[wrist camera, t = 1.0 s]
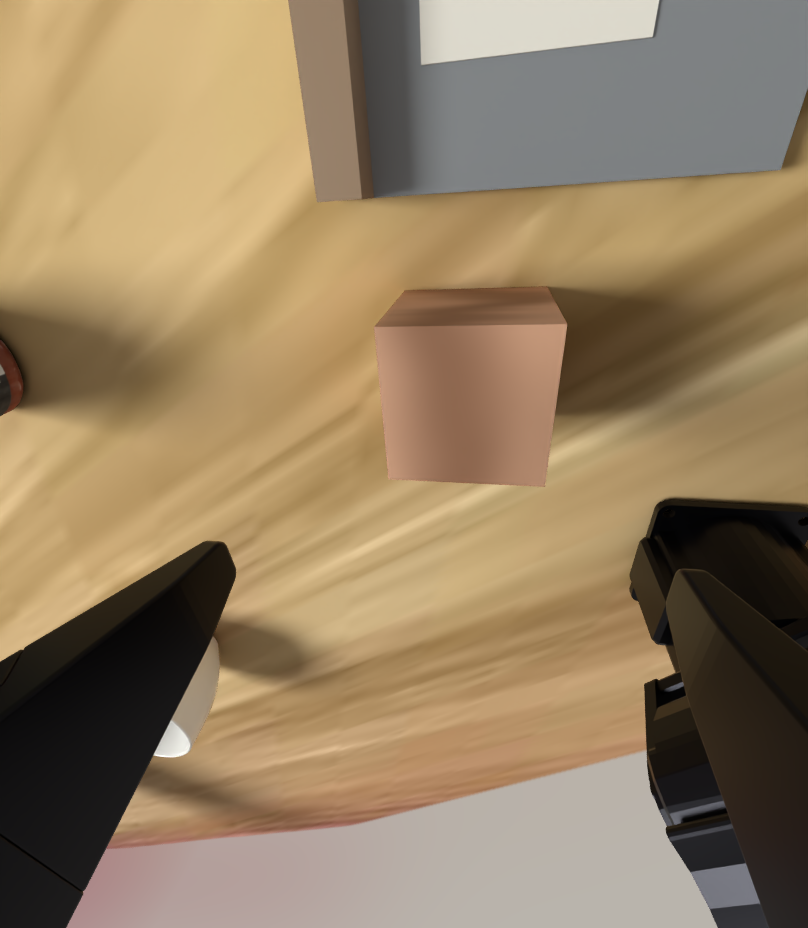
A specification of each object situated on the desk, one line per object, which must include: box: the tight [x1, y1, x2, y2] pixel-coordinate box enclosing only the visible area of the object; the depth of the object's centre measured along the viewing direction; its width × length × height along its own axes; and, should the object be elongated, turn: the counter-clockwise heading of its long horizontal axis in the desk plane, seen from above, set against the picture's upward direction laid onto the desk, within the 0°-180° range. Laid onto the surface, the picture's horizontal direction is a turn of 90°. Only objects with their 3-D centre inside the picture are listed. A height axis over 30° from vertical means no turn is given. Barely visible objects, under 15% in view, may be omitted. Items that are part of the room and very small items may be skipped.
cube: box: [374, 286, 567, 487], centre depth 16 cm, size 6×6×6 cm
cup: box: [154, 637, 220, 757], centre depth 31 cm, size 8×10×7 cm
